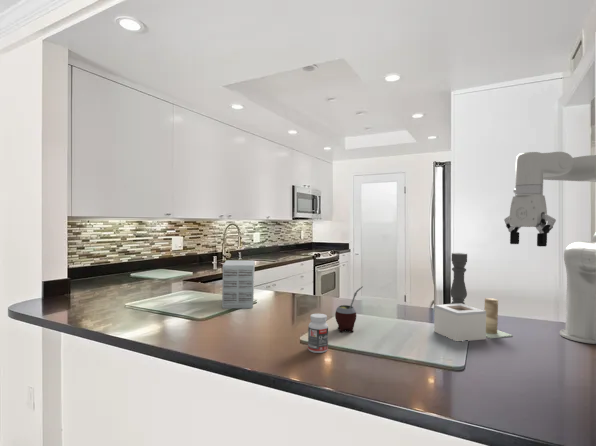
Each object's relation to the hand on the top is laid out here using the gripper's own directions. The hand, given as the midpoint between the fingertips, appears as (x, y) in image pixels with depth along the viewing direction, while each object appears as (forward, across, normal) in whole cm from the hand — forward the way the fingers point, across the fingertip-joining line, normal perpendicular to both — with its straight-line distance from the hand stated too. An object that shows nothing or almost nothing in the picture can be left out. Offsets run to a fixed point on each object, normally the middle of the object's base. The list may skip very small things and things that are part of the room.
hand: (527, 245), depth 117 cm
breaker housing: (+30, -9, -18) cm, 36 cm away
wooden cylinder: (+30, -8, -6) cm, 32 cm away
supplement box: (+31, -70, -82) cm, 112 cm away
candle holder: (+31, -28, -2) cm, 41 cm away
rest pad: (+30, -8, -6) cm, 32 cm away
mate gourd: (+31, -23, -52) cm, 65 cm away
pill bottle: (+31, -8, -68) cm, 75 cm away
